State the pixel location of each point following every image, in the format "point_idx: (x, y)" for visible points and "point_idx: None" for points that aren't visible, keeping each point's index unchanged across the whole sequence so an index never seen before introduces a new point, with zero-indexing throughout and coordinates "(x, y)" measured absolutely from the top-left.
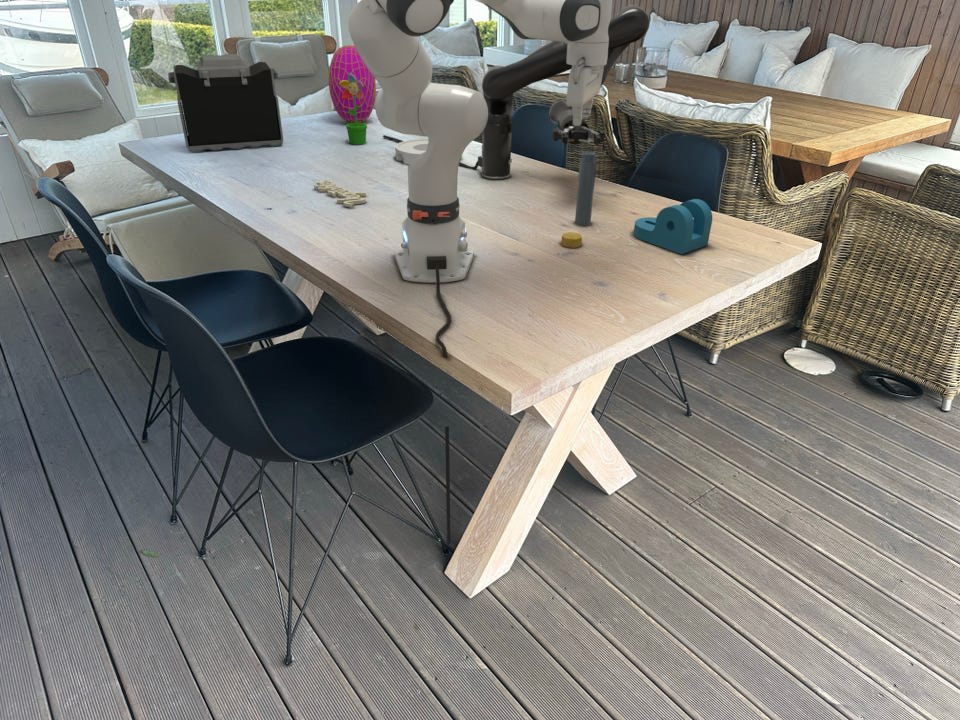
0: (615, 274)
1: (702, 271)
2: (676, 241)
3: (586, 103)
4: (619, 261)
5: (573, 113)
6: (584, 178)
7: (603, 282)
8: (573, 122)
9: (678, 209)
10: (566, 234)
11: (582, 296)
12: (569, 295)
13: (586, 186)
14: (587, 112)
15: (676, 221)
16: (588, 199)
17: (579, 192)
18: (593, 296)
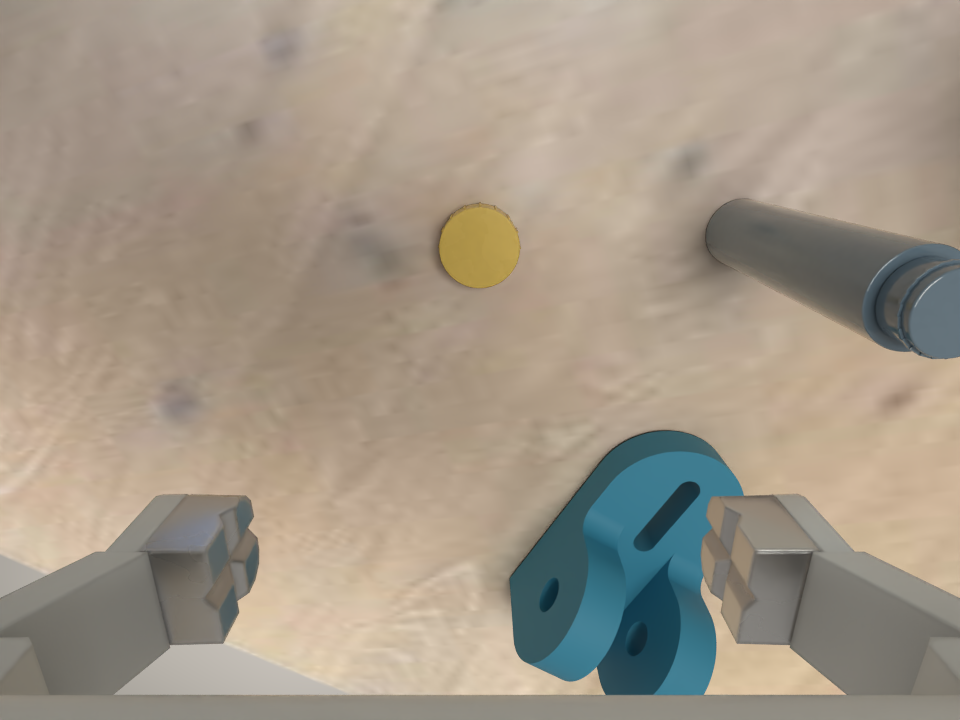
0: (274, 431)
1: (407, 628)
2: (525, 584)
3: (893, 648)
4: (384, 425)
5: (15, 604)
6: (809, 271)
7: (196, 409)
8: (149, 513)
9: (549, 660)
10: (486, 224)
11: (63, 372)
12: (46, 336)
13: (784, 277)
14: (724, 595)
15: (538, 625)
16: (758, 276)
17: (780, 233)
18: (82, 401)
